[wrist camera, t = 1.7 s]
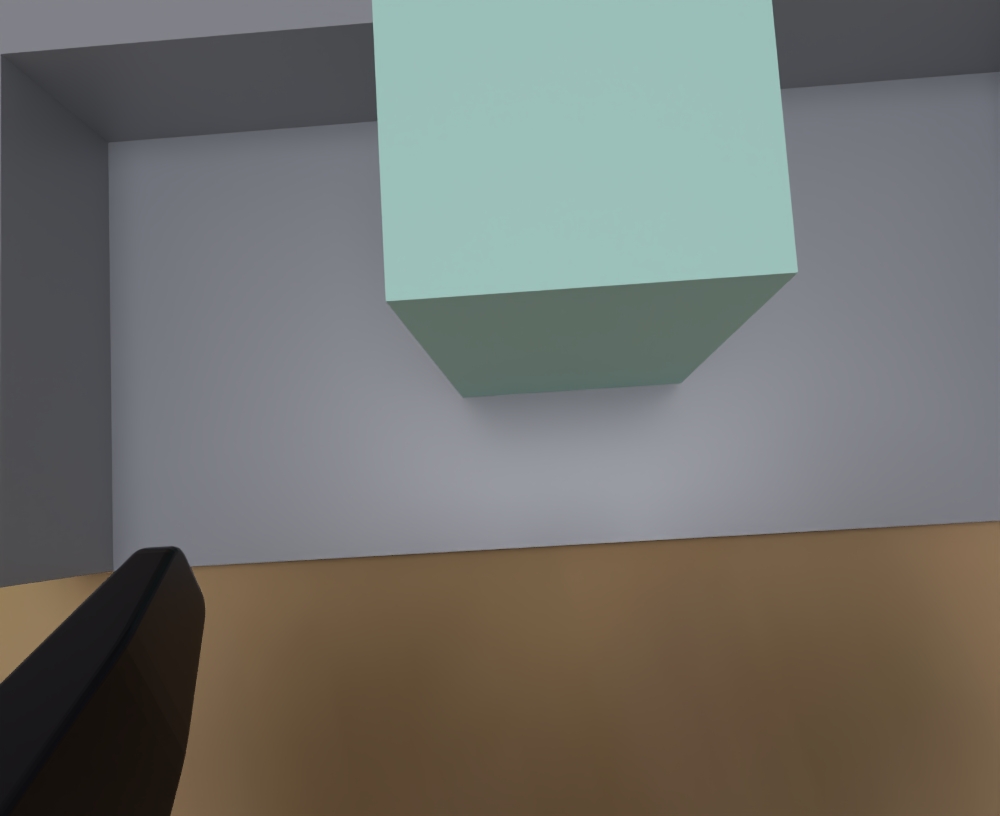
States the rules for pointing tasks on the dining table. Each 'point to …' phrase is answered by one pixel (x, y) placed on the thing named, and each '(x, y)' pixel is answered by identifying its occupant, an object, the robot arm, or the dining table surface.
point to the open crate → (398, 355)
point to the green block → (579, 185)
